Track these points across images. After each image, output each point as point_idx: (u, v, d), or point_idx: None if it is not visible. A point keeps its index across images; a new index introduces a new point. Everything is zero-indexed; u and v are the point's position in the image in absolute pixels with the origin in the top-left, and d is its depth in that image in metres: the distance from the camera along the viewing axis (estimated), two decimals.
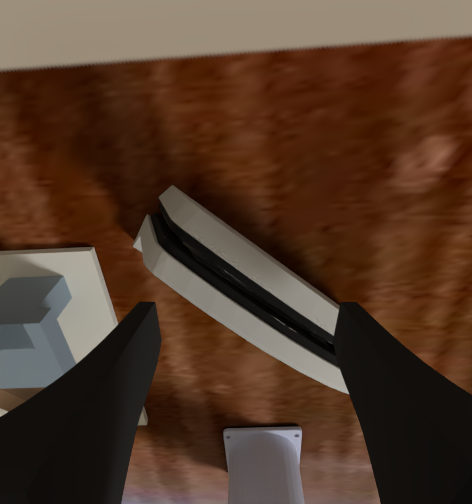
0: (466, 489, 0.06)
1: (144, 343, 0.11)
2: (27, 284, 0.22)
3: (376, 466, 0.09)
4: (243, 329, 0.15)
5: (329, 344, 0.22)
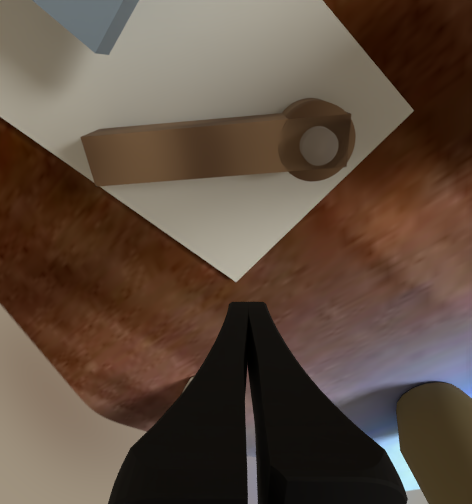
0: (272, 488, 0.06)
1: (246, 343, 0.11)
2: None
3: (257, 465, 0.09)
4: None
5: None
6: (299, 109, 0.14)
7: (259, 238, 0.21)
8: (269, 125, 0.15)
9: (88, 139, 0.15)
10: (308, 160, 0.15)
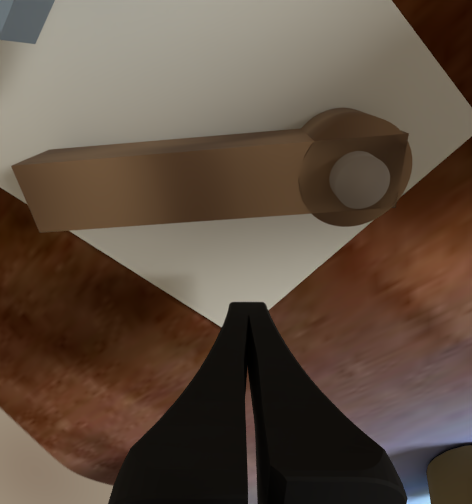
0: (272, 488, 0.06)
1: None
2: None
3: (256, 465, 0.09)
4: None
5: None
6: (331, 127, 0.10)
7: (267, 286, 0.16)
8: (286, 150, 0.10)
9: (23, 169, 0.10)
10: (343, 201, 0.10)
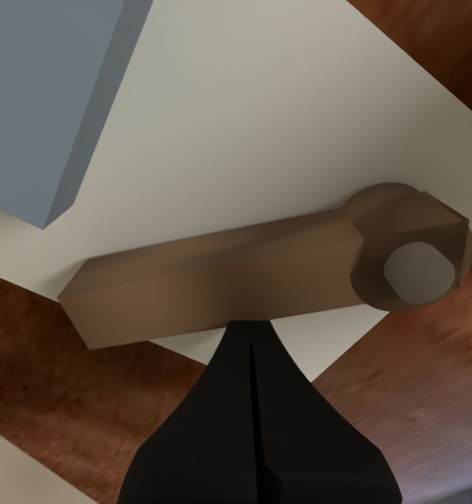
0: (267, 489, 0.06)
1: None
2: None
3: None
4: None
5: None
6: (382, 224, 0.09)
7: (317, 352, 0.15)
8: (334, 251, 0.09)
9: (69, 299, 0.10)
10: (404, 298, 0.09)
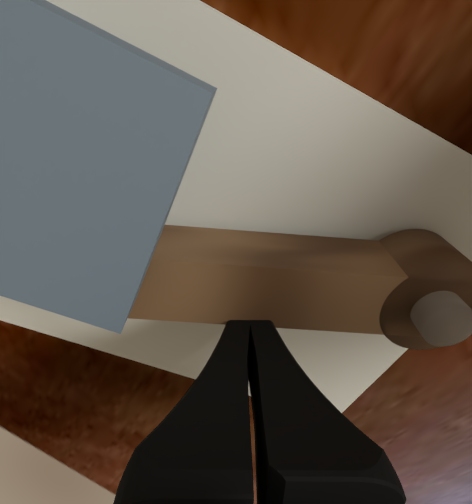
0: (270, 488, 0.06)
1: (249, 343, 0.11)
2: None
3: (256, 465, 0.09)
4: None
5: None
6: (429, 268, 0.10)
7: (354, 377, 0.16)
8: (379, 281, 0.10)
9: None
10: (426, 339, 0.10)
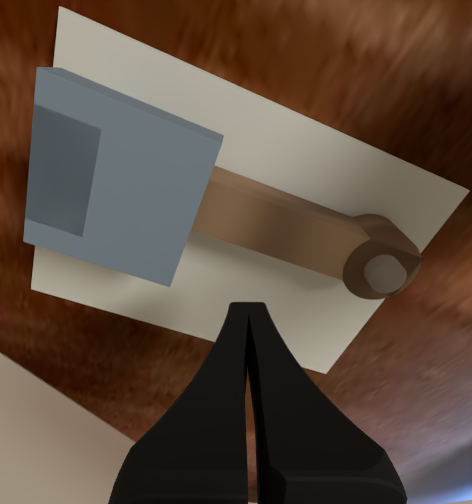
0: (271, 488, 0.06)
1: None
2: None
3: (256, 465, 0.09)
4: None
5: None
6: (385, 235, 0.14)
7: (338, 334, 0.21)
8: (351, 236, 0.14)
9: None
10: (371, 284, 0.14)
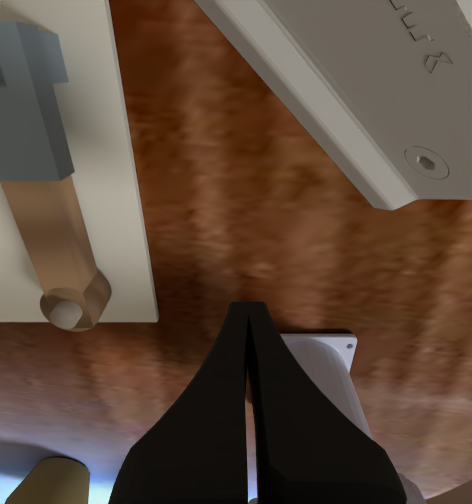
0: (271, 489, 0.06)
1: None
2: None
3: (256, 465, 0.09)
4: None
5: None
6: (91, 299, 0.20)
7: (9, 311, 0.24)
8: (75, 281, 0.19)
9: None
10: (52, 312, 0.19)
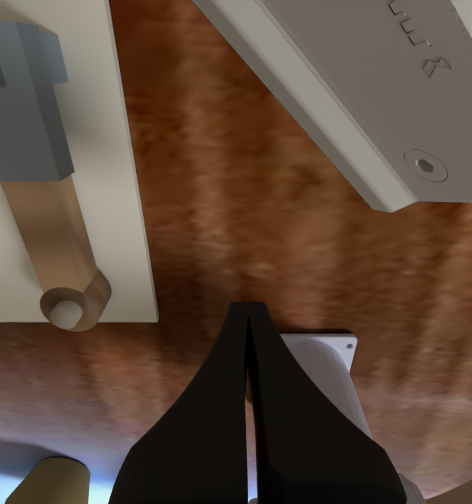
0: (271, 489, 0.06)
1: None
2: None
3: (256, 465, 0.09)
4: None
5: None
6: (91, 299, 0.20)
7: (9, 311, 0.24)
8: (75, 281, 0.19)
9: None
10: (52, 312, 0.19)
